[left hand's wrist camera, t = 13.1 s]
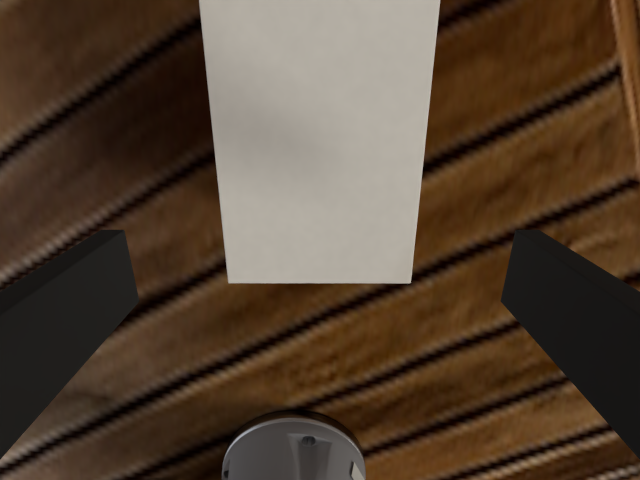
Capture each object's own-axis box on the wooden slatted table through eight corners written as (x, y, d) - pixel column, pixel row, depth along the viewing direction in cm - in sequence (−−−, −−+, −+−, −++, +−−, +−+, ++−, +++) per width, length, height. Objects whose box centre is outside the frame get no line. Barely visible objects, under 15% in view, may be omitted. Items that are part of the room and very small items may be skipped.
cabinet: (243, -64, 23) (177, -202, 12) (395, -64, 23) (461, -201, 12) (260, 216, 30) (227, 283, 19) (378, 216, 30) (410, 283, 19)
